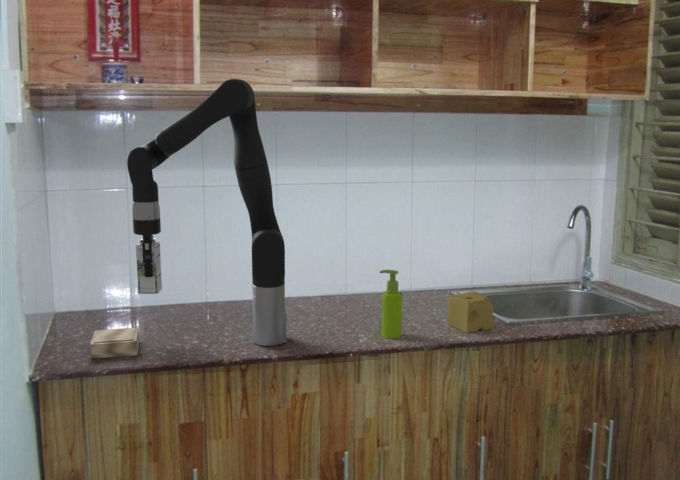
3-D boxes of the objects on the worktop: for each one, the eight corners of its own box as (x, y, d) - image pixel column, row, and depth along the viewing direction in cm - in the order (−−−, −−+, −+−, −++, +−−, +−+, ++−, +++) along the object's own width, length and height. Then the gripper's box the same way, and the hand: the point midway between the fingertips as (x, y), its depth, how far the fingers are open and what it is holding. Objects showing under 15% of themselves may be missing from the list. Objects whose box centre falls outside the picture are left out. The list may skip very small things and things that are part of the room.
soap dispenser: (382, 330, 206) (383, 267, 203) (403, 333, 204) (405, 269, 200) (375, 336, 201) (376, 271, 197) (397, 339, 198) (399, 273, 195)
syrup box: (162, 288, 198) (160, 240, 195) (157, 294, 192) (155, 244, 189) (143, 289, 198) (140, 240, 195) (137, 294, 192) (135, 244, 189)
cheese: (494, 329, 209) (495, 298, 207) (466, 334, 204) (467, 302, 202) (473, 320, 218) (474, 290, 216) (445, 324, 213) (446, 294, 211)
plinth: (138, 340, 196) (138, 326, 195) (137, 355, 185) (136, 340, 184) (95, 343, 193) (94, 329, 193) (91, 358, 182) (89, 343, 181)
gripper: (159, 220, 185) (162, 279, 188) (160, 212, 198) (163, 267, 202) (131, 221, 183) (134, 280, 186) (134, 213, 197) (137, 269, 200)
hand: (149, 273), depth 194 cm, fingers closed on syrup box, 6 cm apart
